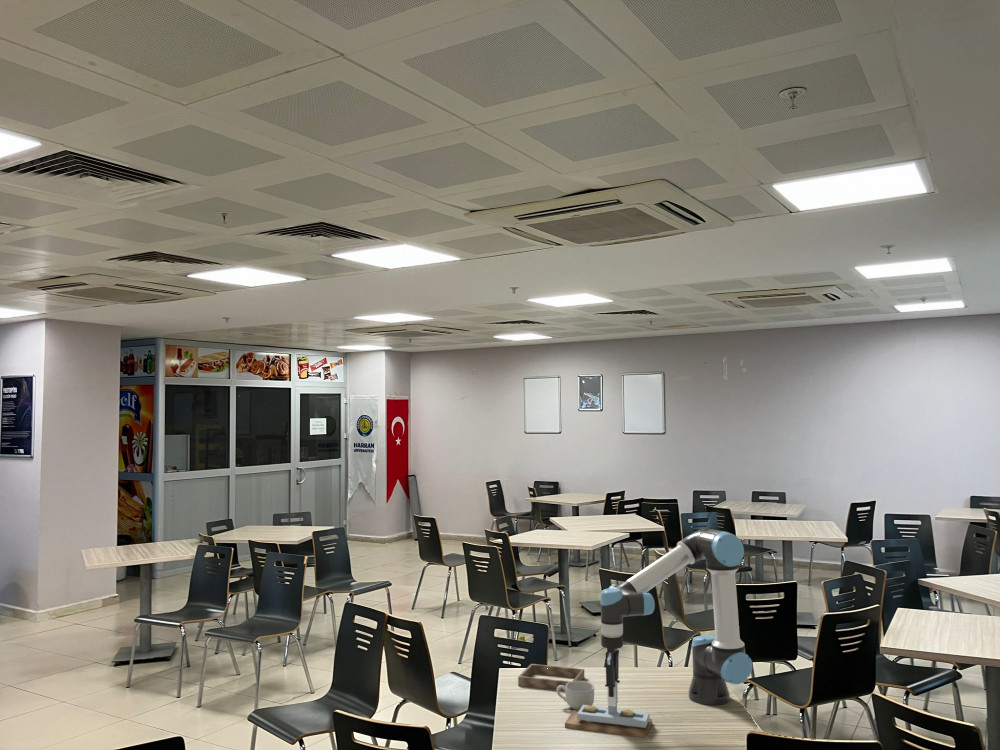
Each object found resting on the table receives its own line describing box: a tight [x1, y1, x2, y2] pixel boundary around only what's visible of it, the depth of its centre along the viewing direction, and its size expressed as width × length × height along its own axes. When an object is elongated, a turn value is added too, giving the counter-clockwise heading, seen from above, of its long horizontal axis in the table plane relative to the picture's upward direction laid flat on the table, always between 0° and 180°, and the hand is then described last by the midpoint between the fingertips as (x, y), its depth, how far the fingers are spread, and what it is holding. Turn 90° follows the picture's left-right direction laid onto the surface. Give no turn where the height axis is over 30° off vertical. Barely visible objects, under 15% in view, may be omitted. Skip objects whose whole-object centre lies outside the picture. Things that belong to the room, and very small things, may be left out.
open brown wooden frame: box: [517, 663, 585, 692], centre depth 314 cm, size 23×18×4 cm
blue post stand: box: [577, 681, 651, 728], centre depth 268 cm, size 24×9×12 cm, turn 71°
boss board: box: [564, 704, 653, 738], centre depth 268 cm, size 28×13×5 cm, turn 71°
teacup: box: [556, 680, 595, 711], centre depth 286 cm, size 14×11×8 cm
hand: (612, 704), depth 267 cm, fingers closed on blue post stand, 3 cm apart
